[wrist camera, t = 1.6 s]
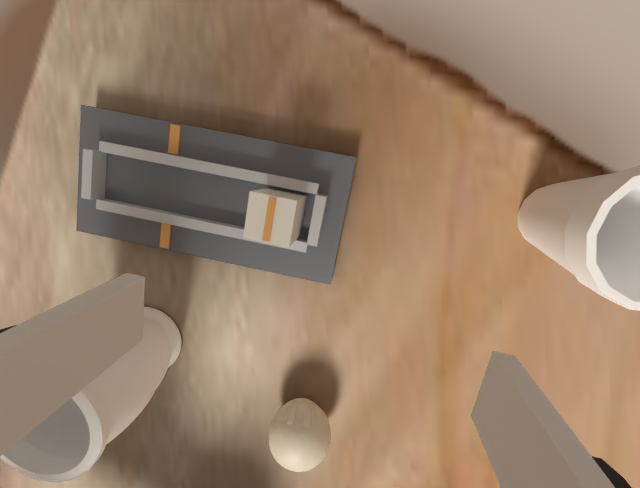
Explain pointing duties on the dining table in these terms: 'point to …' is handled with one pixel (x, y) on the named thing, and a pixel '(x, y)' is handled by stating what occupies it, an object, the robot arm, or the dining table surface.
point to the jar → (99, 408)
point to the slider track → (207, 191)
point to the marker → (174, 149)
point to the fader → (274, 216)
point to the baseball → (299, 435)
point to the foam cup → (591, 231)
